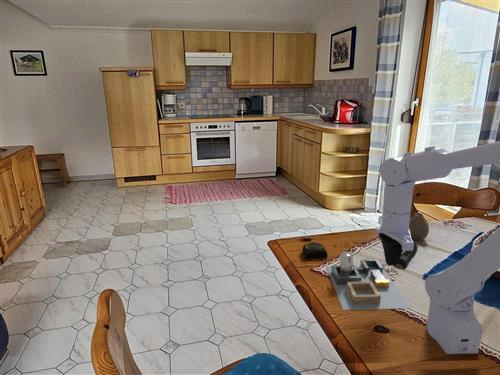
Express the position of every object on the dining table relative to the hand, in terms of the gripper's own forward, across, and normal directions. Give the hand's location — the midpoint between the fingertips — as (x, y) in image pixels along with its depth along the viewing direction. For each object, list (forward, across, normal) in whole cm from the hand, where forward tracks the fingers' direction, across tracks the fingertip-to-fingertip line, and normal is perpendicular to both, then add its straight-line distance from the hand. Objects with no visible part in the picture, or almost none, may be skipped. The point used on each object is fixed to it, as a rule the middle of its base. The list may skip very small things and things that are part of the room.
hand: (391, 264), depth 77 cm
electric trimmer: (+10, -18, +12) cm, 24 cm away
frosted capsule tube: (+9, -8, -8) cm, 15 cm away
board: (+10, -5, -4) cm, 12 cm away
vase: (+10, -32, +22) cm, 41 cm away
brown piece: (+9, 0, -6) cm, 11 cm away
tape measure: (+10, -22, -14) cm, 28 cm away
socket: (+9, -10, -4) cm, 14 cm away
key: (+9, -7, 0) cm, 11 cm away
